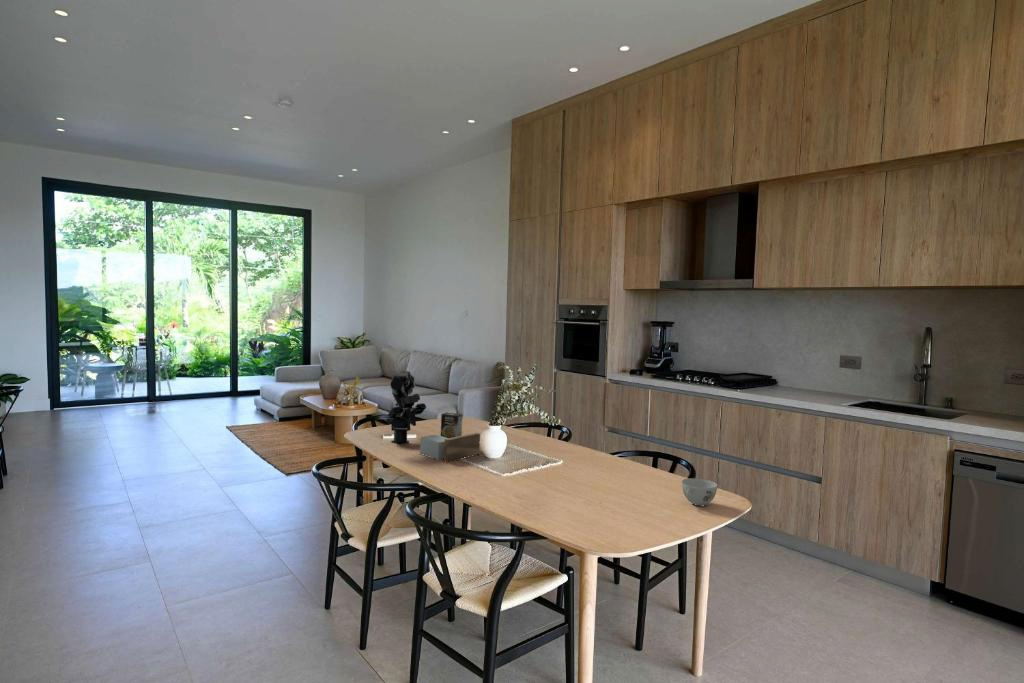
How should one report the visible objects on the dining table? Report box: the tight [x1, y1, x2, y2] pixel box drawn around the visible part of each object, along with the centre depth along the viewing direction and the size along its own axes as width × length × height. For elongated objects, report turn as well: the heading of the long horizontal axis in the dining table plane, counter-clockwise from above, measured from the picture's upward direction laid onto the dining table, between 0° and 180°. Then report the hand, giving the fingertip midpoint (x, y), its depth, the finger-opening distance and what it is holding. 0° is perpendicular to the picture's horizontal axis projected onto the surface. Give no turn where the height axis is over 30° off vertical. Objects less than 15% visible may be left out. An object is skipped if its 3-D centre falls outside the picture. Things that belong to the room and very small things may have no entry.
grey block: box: [419, 434, 448, 460], centre depth 259 cm, size 13×9×8 cm
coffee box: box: [440, 411, 464, 438], centre depth 278 cm, size 9×6×16 cm
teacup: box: [681, 477, 718, 506], centre depth 205 cm, size 15×12×8 cm
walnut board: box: [443, 432, 481, 463], centre depth 256 cm, size 2×20×10 cm, turn 139°
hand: (414, 425), depth 263 cm, fingers closed
